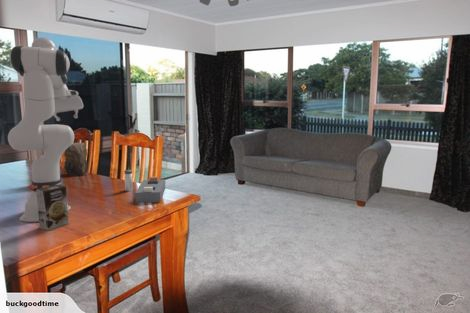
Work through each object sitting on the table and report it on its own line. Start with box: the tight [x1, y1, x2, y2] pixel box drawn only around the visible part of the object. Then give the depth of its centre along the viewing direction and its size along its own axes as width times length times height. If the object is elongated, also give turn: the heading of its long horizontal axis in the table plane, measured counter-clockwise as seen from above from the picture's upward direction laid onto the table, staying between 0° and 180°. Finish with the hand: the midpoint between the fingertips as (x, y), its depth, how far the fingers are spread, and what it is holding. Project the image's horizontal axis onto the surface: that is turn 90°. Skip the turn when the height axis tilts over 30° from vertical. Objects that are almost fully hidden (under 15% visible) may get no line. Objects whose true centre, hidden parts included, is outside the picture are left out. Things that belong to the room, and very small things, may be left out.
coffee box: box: [36, 184, 70, 231], centre depth 143 cm, size 9×6×16 cm
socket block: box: [134, 176, 166, 204], centre depth 186 cm, size 25×12×7 cm, turn 5°
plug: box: [124, 169, 134, 192], centre depth 194 cm, size 4×4×11 cm
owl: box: [63, 142, 89, 177], centre depth 230 cm, size 13×13×20 cm
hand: (67, 119), depth 196 cm, fingers open, 8 cm apart
